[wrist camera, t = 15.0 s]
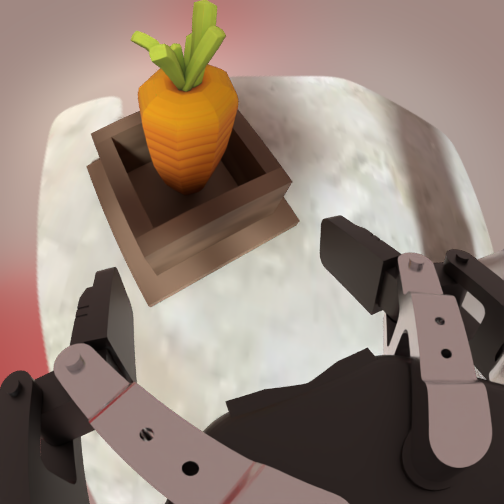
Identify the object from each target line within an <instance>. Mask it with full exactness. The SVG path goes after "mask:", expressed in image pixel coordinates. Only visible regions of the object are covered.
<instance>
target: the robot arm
mask: <svg viewBox="0 0 504 504" xmlns="http://www.w3.org/2000/svg"><path fill="white" fill-rule="evenodd" d="M320 258H321V262H322V264H323V266H324V267H325V268H326V269H327V270H328V271H329V272H330V273H331V274H332V275H333V276H334V277H335V278H336V279H337V280H338V281H339V282H340V283H341V284H342V285H343V286H344V287H345V288H346V289H347V290H348V291H349V292H350V293H351V294H352V295H353V296H354V297H355V299H356V300H357V301H358V302H359V303H360V304H361V305H362V306H363V307H364V308H365V309H366V310H367V311H368V312H369V313H370V314H371V315H373V314H375V313H377V312H379V311H382V310H384V311H385V313H384V317H383V355H380V356H374V355H373V354H372V352H371V351H370V350H369V349H368V348H366V349H364V350H362V351H359V352H357V353H355V354H353V355H351V356H349V357H346V358H344V359H342V360H340V361H337V362H336V363H335V364H334V365H332V366H331V367H330V368H328V369H327V370H326V371H324V372H323V373H322V374H320V375H319V376H317V377H316V378H315V379H313V380H312V381H310V382H309V383H306V384H301V385H295V386H288V387H280V388H272V389H264V390H261V391H258V392H255V393H252V394H249V395H245V396H242V397H239V398H235V399H232V400H229V401H225V402H226V405H227V408H228V411H229V412H228V413H226V414H224V415H222V416H221V417H219V418H218V419H216V420H215V421H214V422H212V423H211V424H210V425H209V426H208V427H207V428H206V429H205V430H204V431H203V432H202V431H201V430H199V429H198V428H196V427H195V426H193V425H192V424H190V423H189V422H187V421H186V420H185V419H183V418H182V417H180V416H179V415H178V414H176V413H175V412H173V411H172V410H171V409H169V408H168V407H167V406H165V405H164V404H163V403H161V402H160V401H159V400H157V399H156V398H155V397H154V396H152V395H151V394H150V393H149V392H147V391H146V390H145V389H144V388H142V387H141V386H140V385H139V384H137V379H136V366H135V350H134V325H133V311H132V307H131V304H130V301H129V298H128V296H127V293H126V291H125V288H124V285H123V283H122V280H121V277H120V275H119V272H118V270H117V268H116V267H113V268H109V269H105V270H101V271H97V272H96V274H95V279H94V284H93V287H89V288H86V290H85V291H84V293H83V294H82V295H81V297H80V299H79V303H78V307H77V308H78V310H77V312H76V318H75V321H74V326H73V331H72V337H71V342H70V346H69V347H67V348H66V349H64V350H63V351H62V352H61V353H60V354H59V355H58V357H57V358H56V360H55V363H54V371H52V372H50V373H48V374H46V375H44V376H42V377H39V378H37V379H35V380H34V379H33V378H32V377H31V376H30V375H29V374H28V373H27V372H26V371H16V372H13V373H11V374H10V375H9V376H8V377H7V378H6V379H5V380H4V381H3V383H2V385H1V387H0V504H90V503H89V497H88V492H87V486H86V480H85V473H84V465H83V457H82V447H81V436H82V435H85V434H87V433H89V432H91V431H93V430H96V431H97V432H98V433H99V435H100V436H101V437H102V438H103V439H104V440H105V441H106V442H107V443H108V444H109V445H110V446H111V448H112V449H113V450H114V451H115V452H116V453H117V454H118V455H119V456H120V457H121V458H122V459H123V460H124V461H125V462H126V463H127V464H128V465H129V466H131V467H132V468H133V469H134V470H135V471H136V472H137V473H138V474H139V475H140V476H141V477H142V478H144V479H145V480H146V481H147V482H148V483H149V484H150V485H152V486H153V487H154V488H155V489H156V490H158V491H159V492H160V493H161V494H163V495H164V496H165V497H166V498H168V499H167V501H166V503H165V504H504V249H503V250H501V251H498V252H496V253H493V254H490V255H488V256H485V257H483V258H480V259H476V258H474V257H473V256H472V255H470V254H469V253H467V252H465V251H462V250H457V249H452V250H449V251H448V252H447V253H446V256H445V260H444V262H443V263H432V261H431V260H430V259H428V258H427V257H425V256H423V255H421V254H417V253H404V254H400V253H399V252H398V251H396V250H395V249H393V248H392V247H391V246H389V245H388V244H386V243H385V242H384V241H382V240H380V239H379V238H378V237H377V236H375V235H374V236H373V234H372V233H371V232H369V231H368V230H366V229H365V228H362V227H360V226H357V225H355V224H353V223H352V222H350V221H349V220H347V219H346V218H344V217H343V216H341V215H339V216H334V217H330V218H325V219H323V220H322V223H321V238H320ZM474 366H475V367H476V368H477V369H478V370H479V371H480V373H481V374H482V375H483V376H484V377H485V378H486V380H485V379H481V378H477V377H476V374H475V369H474ZM40 438H41V449H40Z"/></svg>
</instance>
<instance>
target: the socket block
mask: <svg viewBox="0 0 504 504" xmlns="http://www.w3.org/2000/svg"><path fill="white" fill-rule="evenodd" d="M91 136H92V138H93V141H94V144H95V147H96V149H97V152H98V155H99V157H100V159H99V160H97V161H95V162H93V163H91V164H90V165H88V166H87V169H88V172H89V175H90V177H91V180H92V183H93V186H94V188H95V191H96V193H97V196H98V199H99V201H100V204H101V206H102V209H103V211H104V213H105V216H106V218H107V221H108V223H109V225H110V228H111V230H112V232H113V235H114V237H115V239H116V241H117V244H118V246H119V248H120V250H121V252H122V254H123V257H124V259H125V261H126V263H127V265H128V267H129V269H130V271H131V273H132V275H133V277H134V279H135V281H136V283H137V285H138V287H139V289H140V291H141V293H142V295H143V297H144V299H145V300H146V302H147V304H148V306H149V307H152V306H154V305H156V304H157V303H159V302H161V301H163V300H164V299H166V298H168V297H170V296H172V295H173V294H175V293H177V292H179V291H180V290H182V289H184V288H186V287H187V286H189V285H191V284H193V283H195V282H196V281H198V280H200V279H202V278H203V277H205V276H207V275H209V274H211V273H212V272H214V271H216V270H218V269H219V268H221V267H223V266H225V265H226V264H228V263H230V262H232V261H234V260H235V259H237V258H239V257H241V256H242V255H244V254H246V253H248V252H250V251H251V250H253V249H255V248H257V247H258V246H260V245H262V244H264V243H266V242H267V241H269V240H271V239H273V238H274V237H276V236H278V235H280V234H282V233H283V232H285V231H287V230H289V229H290V228H292V227H294V226H296V225H297V224H298V222H299V219H298V218H297V216H296V215H295V213H294V212H293V210H292V209H291V207H290V206H289V204H288V203H287V201H286V200H285V198H284V197H283V196H284V195H285V193H286V191H287V190H288V188H289V186H290V185H291V183H292V180H291V179H290V178H289V176H288V175H287V173H286V172H285V171H284V169H283V168H282V167H281V165H280V164H279V162H278V161H277V160H276V158H275V157H274V156H273V154H272V153H271V152H270V150H269V149H268V148H267V146H266V145H265V144H264V142H263V141H262V140H261V138H260V137H259V136H258V135H257V133H256V132H255V131H254V129H253V128H252V127H251V126H250V124H249V123H248V122H247V120H246V119H245V118H244V117H243V115H242V114H241V113H240V112H239V110H238V109H237V112H236V116H235V120H234V124H233V128H232V131H231V135H230V138H229V141H228V145H227V148H226V150H225V152H224V154H223V156H222V158H221V160H220V162H219V164H218V166H217V167H216V169H215V171H214V172H213V174H212V176H211V177H210V179H209V180H208V182H207V183H206V185H205V186H204V188H203V189H202V190H200V191H199V192H196V193H193V194H189V195H183V194H181V193H179V192H177V191H175V190H173V189H172V188H171V187H169V186H168V185H166V184H165V182H164V181H163V180H162V178H161V177H160V175H159V174H158V172H157V170H156V168H155V167H154V165H153V161H152V158H151V155H150V152H149V149H148V145H147V141H146V137H145V133H144V129H143V125H142V120H141V114H140V111H139V112H136V113H134V114H132V115H129V116H127V117H125V118H122V119H120V120H118V121H116V122H114V123H112V124H110V125H108V126H106V127H103V128H101V129H99V130H97V131H95V132H94V133H92V134H91Z"/></svg>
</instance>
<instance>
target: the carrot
mask: <svg viewBox="0 0 504 504" xmlns="http://www.w3.org/2000/svg"><path fill="white" fill-rule="evenodd" d="M216 15H217V6H216V5H214V4H212V3H210V2H209V1H207V0H202V1H198V2H194V8H193V18H192V33H191V34H189V35H188V36H186V43H185V52H184V57H183V53H182V49H181V46H180V44H172V45H171V46H170V47H169V46H168V45H166V44H159V42H158V41H157V40H155V39H153V38H152V37H150V36H149V35H147V34H145V33H142V32H139V31H136V32H135V33H134V34H133V35H132V38H131V41H132V42H134V43H136V44H138V45H139V46H141V47H143V48H145V49H146V50H147V51H149V55H150V58H151V60H152V62H153V63H155V64H156V65H157V66H159V67H160V69H159V70H158V71H157V72H156V73H154V74H153V75H152V76H151V77H150V78H149V79H148V80H147V81H146V82H145V83H144V84H143V85H142V86H140V88H139V91H138V101H139V108H140V114H141V120H142V125H143V129H144V133H145V137H146V141H147V145H148V149H149V152H150V155H151V158H152V161H153V165H154V167H155V168H156V170H157V172H158V174H159V175H160V177H161V178H162V180H163V181H164V182H165V184H166V185H168V186H169V187H171V188H172V189H173V190H175V191H177V192H179V193H181V194H183V195H189V194H193V193H196V192H199V191H200V190H202V189H203V188H204V186H205V185H206V183H207V182H208V180H209V179H210V177H211V176H212V174H213V172H214V171H215V169H216V167H217V166H218V164H219V162H220V160H221V158H222V156H223V154H224V152H225V150H226V148H227V145H228V141H229V138H230V135H231V131H232V128H233V124H234V120H235V116H236V112H237V108H238V97H237V94H236V91H235V89H234V87H233V85H232V83H231V81H230V79H229V77H228V74H227V72H225V71H224V70H222V69H219V68H217V67H214V66H211V65H208V63H209V61H210V60H211V58H212V57H213V55H214V54H215V52H216V51H217V50H218V48H219V46H220V45H221V43H222V42H223V40H224V38H225V37H226V35H225V33H224V31H223V30H222V29H220V28H219V27H217V26H216Z"/></svg>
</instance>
